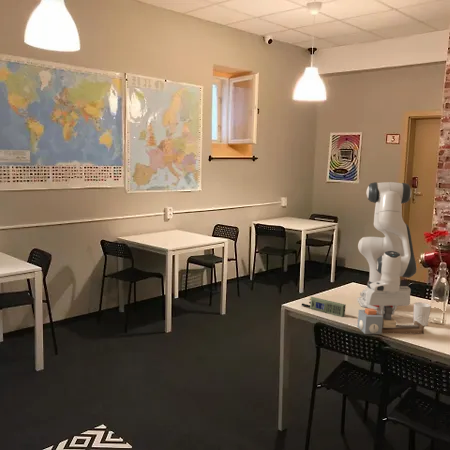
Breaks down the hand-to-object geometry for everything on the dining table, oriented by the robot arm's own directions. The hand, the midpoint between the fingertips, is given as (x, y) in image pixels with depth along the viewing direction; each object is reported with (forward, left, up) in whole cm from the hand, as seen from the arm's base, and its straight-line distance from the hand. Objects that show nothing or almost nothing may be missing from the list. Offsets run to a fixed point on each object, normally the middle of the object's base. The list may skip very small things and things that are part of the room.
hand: (387, 314), depth 233 cm
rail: (0, +6, -8) cm, 10 cm away
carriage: (0, 0, -5) cm, 5 cm away
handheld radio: (-29, -23, -9) cm, 38 cm away
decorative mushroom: (-19, +5, -8) cm, 21 cm away
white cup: (-10, +22, -8) cm, 26 cm away
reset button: (0, -8, -1) cm, 8 cm away
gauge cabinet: (0, -8, -8) cm, 12 cm away
